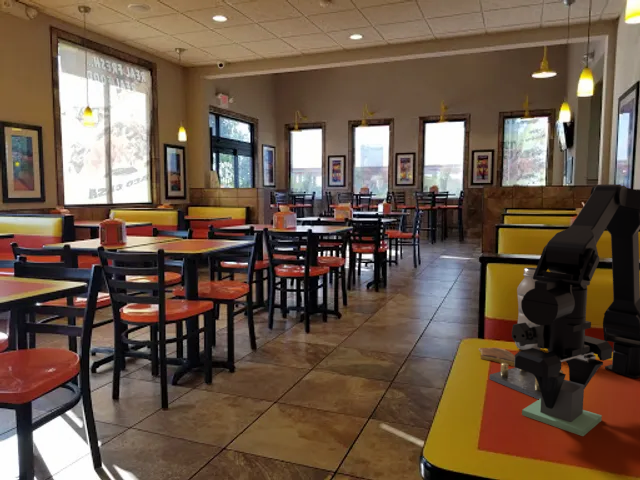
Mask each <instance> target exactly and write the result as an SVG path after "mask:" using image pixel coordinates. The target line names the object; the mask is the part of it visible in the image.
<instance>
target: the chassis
mask: <svg viewBox="0 0 640 480" xmlns="http://www.w3.org/2000/svg"><path fill="white" fill-rule="evenodd" d="M560 372H561V373H564V371H563V370H562V369H561V370H560ZM488 378H489V380H490V381H493V382H495V383H498V384H500V385H503V386H505V387H507V388H510V389H511V390H514V391H517V392H519V393H522V394H523V395H526V396H529V397H531V398H533V397H534V399H536V400H538V399H540V398H541V390H540V387H539V384H538V382H537V380H536V377H535V376H534V375H533V374H532V373H529V372H526V371H524V370H521V369H518V368H516V367H512V368H509V365H508V364H507V363H500V371H498V372H494V373H489V377H488Z"/></svg>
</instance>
